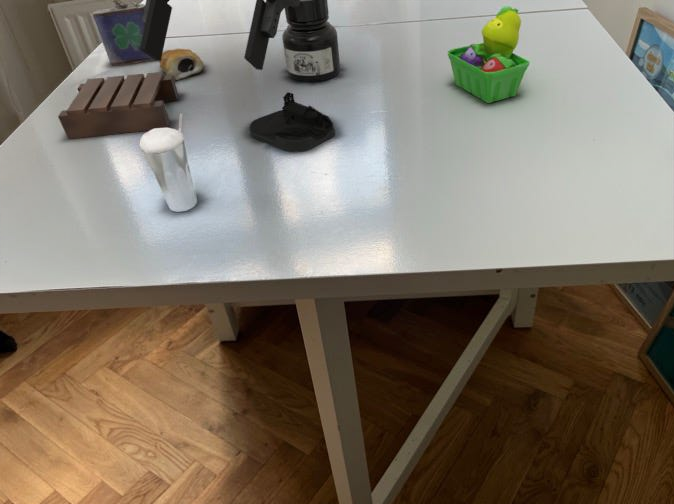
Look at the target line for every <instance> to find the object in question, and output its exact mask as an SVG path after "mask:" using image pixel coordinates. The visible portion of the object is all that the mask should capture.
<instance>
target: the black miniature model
mask: <svg viewBox="0 0 674 504" xmlns="http://www.w3.org/2000/svg"><path fill="white" fill-rule="evenodd" d="M294 95H295V94H294V93H292V92H289V91H287V92H286V93H285V94H284V95H283V97H282V98H283V105H282V107H281V109H280V110H277V111H274V112H271V113H269V114H265V115H263V116H261V117H258V118H256V119H254V120H253V121H251V122H250V124H249V127H248V129H249V134H250V136H251V138H253V139H255V140H257V141H260V142H263V143H265V144H268V145H270V146H272V147H274V148H278V149H280V150H281V151H285V152H289V153H290V152H293V153H297V152H299V153H301V152H306V151H309V150H311V149H313V148H315V147H317V146H319V145H321V144H322V143H324V142H326V141H328V140H330V139H332V138H333V137H335V135H336V130H335V127H334V123H333V121H332V119H331V118H330V117H329V115H326V114H324V113H323V112H320V111H319V110H318V109H315V107H313V106H312V105H311V106H310V105H305V104H302V103H299V102H297V101H296V100H295V97H294Z"/></svg>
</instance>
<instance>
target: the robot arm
mask: <svg viewBox="0 0 674 504" xmlns="http://www.w3.org/2000/svg"><path fill="white" fill-rule="evenodd" d="M169 2H170V0H145V4H144V5H145V8H144V14H143V18H142V20H143V24H145V27H144V32H143V36H142V41H141V45H140V50H141V51H143V52H144V53H146V54H147V55H148V56H150V57H151V58H153V59H154V60H153V61H157V62H160V61H161V57H162V54H163V53H164V48H165V44H166V39H167V33H168V30H169V25H170V20H171V15H172V11H173V7H172V5H170V4H169ZM299 4H300V0H255V5H254V10H253V14H252V20H251V24H250V29H249V32H248V33H249V34H248V38H247V43H246V47H245V53H244V57H243V58H244V60H245V61H246V62H248V63H249V64H250V65H251V66H252V67H253V68H254V69H255V70H258V71H263V69H264V65H265V60H266V56H267V49H268V45H269V41H270V39H275V37H276V35H277V33H278V28H279V24H280V23H279V22H280V19H281V14H282V12H283V11H284V10H285V7H288V6H292V7H297V6H299Z"/></svg>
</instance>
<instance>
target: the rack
mask: <svg viewBox="0 0 674 504" xmlns="http://www.w3.org/2000/svg"><path fill="white" fill-rule="evenodd" d="M164 73H165V72H164V71H156V72H148V73H146V76H145V74H144V73H137V74H136V73H135V74H127V75H126V78H125V76H124V75H114V76H107V77H106V79H105V77H94V78H93V77H92V78H87V80H86V81H85V82H84V83H80V84H79V85H78V87H77V88H76V89H77V91H78V93H77V94H76V96H75V97H74V99H73V100H72V101H71V103H70V104H69V106H68V107H67V109H65V110H61V111H60V113H59V114H58V116H57V117H58V120H59V122H60V124H61V126H62V128H63V131H64V133H65V135H66V137H67V139H68V140H70V139H72V140H73V139H81V138H82V139H83V138H90V137H91V138H92V137H101V136H110V135H120V134H129V133H130V134H131V133H138V132H149V131H150V130H152V129H154V128H166V127H167V128H170V124H171V121H170V117H169V115H168V111H167V108H166V105H165V103H169V102H176V101H178V99H179V96H180V94H179V90H178V88H177V85H176V80H174V77H173V75H166V74H164Z"/></svg>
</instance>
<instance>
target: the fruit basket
mask: <svg viewBox="0 0 674 504" xmlns="http://www.w3.org/2000/svg"><path fill="white" fill-rule="evenodd" d="M518 13H519V9H517V8H513V7H511V6H510V5H508V6H504V7H502V8H501V9H500V10H499V11H498V12H497V14H496V15H495V17H494V18H492V19H491V20H489V21H487V23H486V24H484V26H483V27H482V29H481V35H482V41H483V42H481V43H471V44H469V45H466V46H461V47H456V48H452V49H449V50H447V52H446V53H447V56H448V59H449V61H450V66H451V71H452V75H453V79H454V85H456V86H457V87H459V88H461V89H463V90H464V91H466V92H467V93H470V94H472V96H474V97H476V98H478V99H480V100H482V101H483V102H484V103H487V104H491V103H493V102H499V101H502V100H506V99H509V98H513V97H516V96H517V93H518V91H519V88H520V86H521V83H522V80H523V77H524V75H525V72H526V70H528V67H529V65H530V63H531V62H530V61H529V60H527V59H526V58H523V57H521V56H520V55H517V54H515V53H513V52H514V50H515V49H516V48H517V45H518V43H519V39H520V29H521V25H522V19H521V17H520V15H519V14H518Z"/></svg>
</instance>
